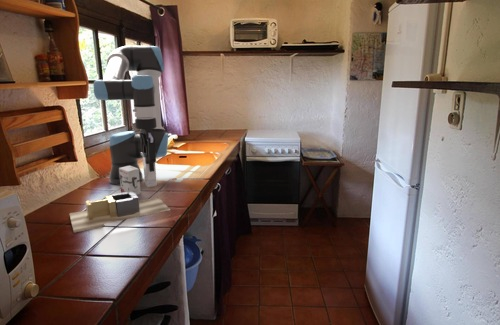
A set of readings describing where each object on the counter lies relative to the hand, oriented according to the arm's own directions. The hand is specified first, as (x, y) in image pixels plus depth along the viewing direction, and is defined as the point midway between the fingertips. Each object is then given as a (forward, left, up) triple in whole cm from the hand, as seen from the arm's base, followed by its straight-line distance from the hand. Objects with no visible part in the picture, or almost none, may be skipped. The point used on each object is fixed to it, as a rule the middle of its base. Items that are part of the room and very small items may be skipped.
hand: (150, 177), depth 133 cm
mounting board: (+7, -12, -10) cm, 17 cm away
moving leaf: (+7, -20, -9) cm, 23 cm away
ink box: (-13, -5, -10) cm, 18 cm away
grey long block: (0, 0, -3) cm, 3 cm away
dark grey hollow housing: (+7, -11, -9) cm, 16 cm away
